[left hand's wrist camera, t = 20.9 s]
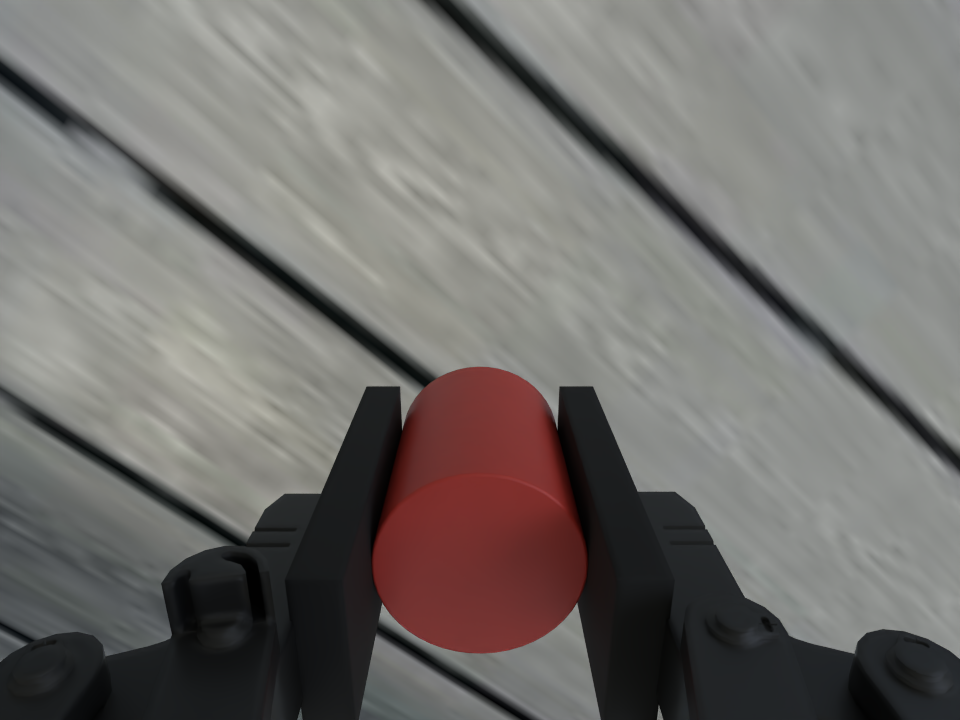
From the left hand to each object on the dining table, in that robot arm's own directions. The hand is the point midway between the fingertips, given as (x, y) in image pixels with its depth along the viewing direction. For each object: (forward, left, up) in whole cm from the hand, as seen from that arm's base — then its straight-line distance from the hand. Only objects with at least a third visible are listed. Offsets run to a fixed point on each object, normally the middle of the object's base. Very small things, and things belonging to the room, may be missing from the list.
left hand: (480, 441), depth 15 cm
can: (0, 0, 0) cm, 0 cm away
